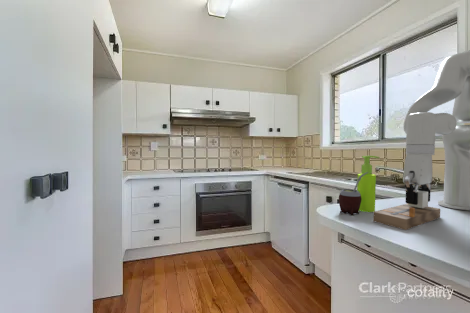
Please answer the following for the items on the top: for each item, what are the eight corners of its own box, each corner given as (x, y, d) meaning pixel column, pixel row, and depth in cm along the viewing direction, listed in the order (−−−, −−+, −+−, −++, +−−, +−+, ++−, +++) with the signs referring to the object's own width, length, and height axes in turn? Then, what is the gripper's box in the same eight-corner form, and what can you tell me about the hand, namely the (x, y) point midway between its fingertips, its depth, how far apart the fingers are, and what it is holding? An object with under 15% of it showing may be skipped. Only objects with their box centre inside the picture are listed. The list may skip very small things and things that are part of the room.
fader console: (408, 211, 86) (409, 196, 85) (440, 217, 78) (440, 201, 78) (373, 221, 74) (373, 203, 73) (406, 230, 66) (406, 210, 66)
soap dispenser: (380, 212, 83) (382, 156, 83) (359, 211, 85) (360, 155, 84) (374, 208, 89) (375, 155, 88) (354, 207, 90) (355, 155, 90)
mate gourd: (336, 210, 87) (337, 169, 86) (359, 211, 86) (360, 169, 85) (342, 215, 80) (343, 171, 79) (367, 217, 78) (368, 171, 78)
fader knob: (413, 204, 82) (414, 189, 82) (427, 206, 79) (428, 191, 78) (408, 205, 80) (408, 190, 80) (422, 208, 76) (422, 192, 76)
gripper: (418, 150, 86) (416, 197, 87) (394, 150, 77) (392, 203, 78) (444, 150, 80) (442, 201, 80) (421, 150, 71) (419, 208, 71)
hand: (417, 202), depth 79 cm, fingers open, 8 cm apart
